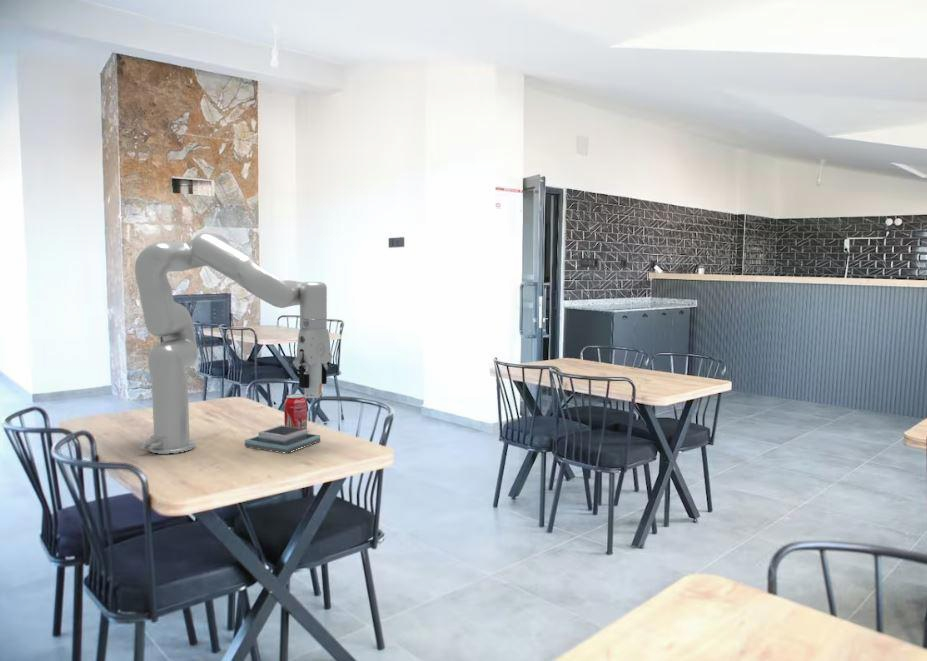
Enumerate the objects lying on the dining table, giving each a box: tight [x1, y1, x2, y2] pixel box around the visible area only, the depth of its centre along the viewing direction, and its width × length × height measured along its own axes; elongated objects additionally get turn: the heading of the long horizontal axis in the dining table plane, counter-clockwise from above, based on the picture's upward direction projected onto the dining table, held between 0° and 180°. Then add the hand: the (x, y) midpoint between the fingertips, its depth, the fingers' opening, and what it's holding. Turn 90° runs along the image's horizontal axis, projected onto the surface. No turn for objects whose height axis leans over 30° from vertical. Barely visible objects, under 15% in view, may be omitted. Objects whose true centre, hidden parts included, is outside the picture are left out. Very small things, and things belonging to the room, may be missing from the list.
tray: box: [244, 424, 321, 454], centre depth 202 cm, size 15×16×4 cm
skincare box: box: [303, 357, 323, 399], centre depth 195 cm, size 6×4×12 cm
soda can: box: [283, 393, 308, 430], centre depth 216 cm, size 7×7×12 cm
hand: (313, 385), depth 195 cm, fingers closed on skincare box, 7 cm apart
